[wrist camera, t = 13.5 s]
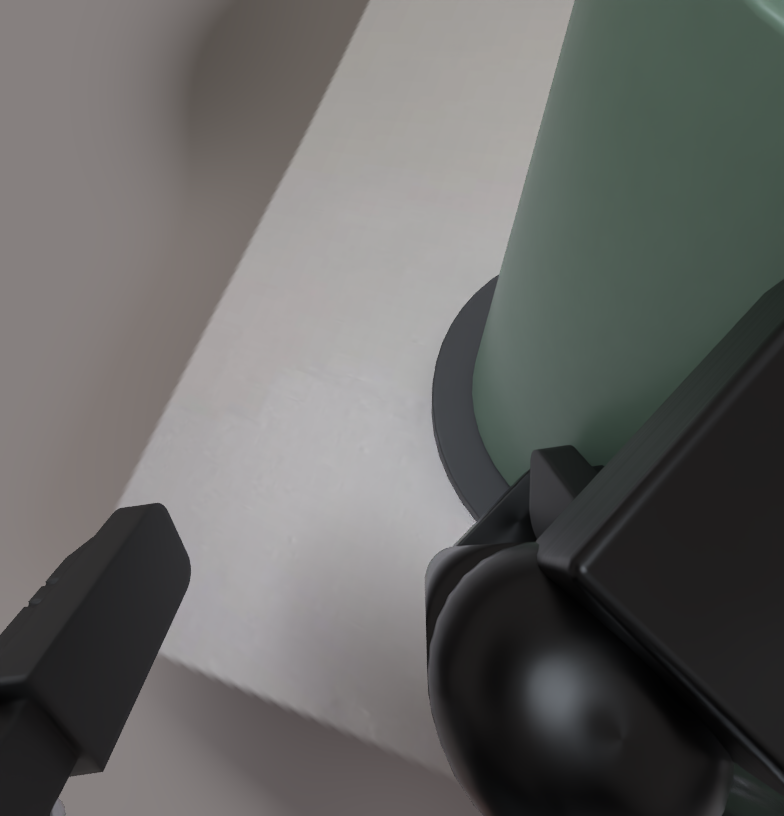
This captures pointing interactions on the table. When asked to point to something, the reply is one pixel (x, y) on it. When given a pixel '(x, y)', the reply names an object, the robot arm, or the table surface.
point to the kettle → (632, 435)
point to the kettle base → (464, 409)
